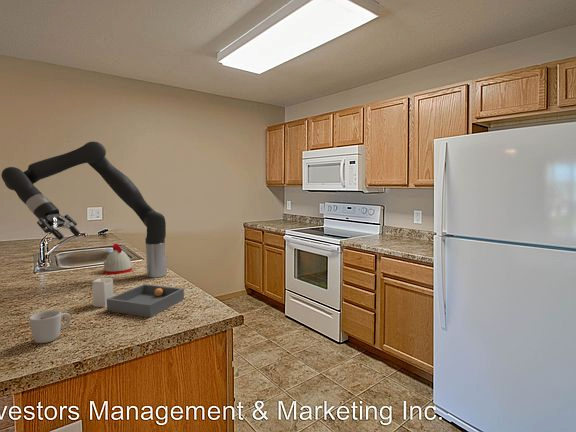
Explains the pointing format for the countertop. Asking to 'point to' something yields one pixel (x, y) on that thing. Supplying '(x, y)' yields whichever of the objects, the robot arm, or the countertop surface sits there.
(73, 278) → the countertop surface
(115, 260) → the cream and red dome
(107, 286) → the open white crate
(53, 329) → the cup
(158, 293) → the ball
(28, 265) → the countertop surface
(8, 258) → the countertop surface
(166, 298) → the tray
